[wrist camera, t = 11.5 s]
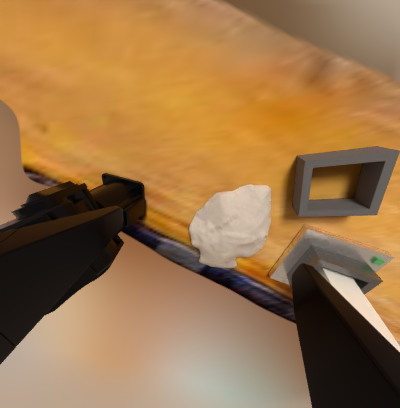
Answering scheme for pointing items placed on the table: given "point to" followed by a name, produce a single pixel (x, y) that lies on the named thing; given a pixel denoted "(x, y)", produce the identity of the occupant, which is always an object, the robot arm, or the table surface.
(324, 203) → the grey hollow square frame
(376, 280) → the port
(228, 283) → the table surface
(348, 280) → the plug
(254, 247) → the decorative stone
